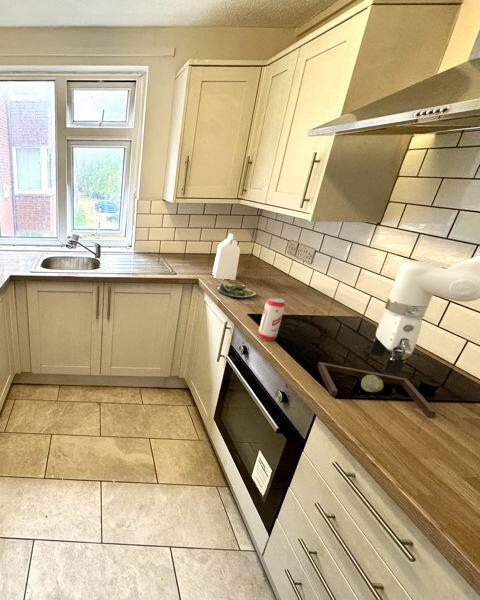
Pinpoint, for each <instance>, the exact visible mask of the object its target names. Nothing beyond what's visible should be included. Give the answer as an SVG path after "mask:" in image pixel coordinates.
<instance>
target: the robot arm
mask: <svg viewBox="0 0 480 600" xmlns="http://www.w3.org/2000/svg"><path fill="white" fill-rule="evenodd" d="M433 296H437V297H440V298H444V299H447V300H451V301H455V302H462V303H463V302H465V303H466V302H467V303H469V302H474V301H478V300H480V254H479V255H478V256H477V255H476V256H474V257H470V258H467V259H466V260H463V261H460V262H457V263H454V264H453V265H450V266H449V267H447V268H445V267H443V266H442V265H440V264H438V263H435V262H431V261H426V260H425V261H424V260H407V261H404V262H402V263H401V265H400V266H399V269H398V272H397V274H396V277H395V280H394V282H393V285H392V288H391V291H390V293H389V296H388V299H387V300H386V304H385V306H384V309H383V310H384V313H383V315H382V316H381V318H380V321H379V323H378V324H377V325H376V331H375V332H374V334H375V337H374V338H373V339H372V340H373V341H372V344H371V346H370V350H369V352H368V353H369V355H371V356H376V357H384V355H385V353H386V351H387V350H388V351H389V358H388V357H387V360H386V362H385V364H384V366H383V369H382V370H383V372H384V373H388V374H393V375H400V373H401V371H402V368H403V366H404V364H405V363H406V362H407V361H408V360H409V358H410V357H411V356H412V355H413V352H414V350H415V347H416V344H417V341H418V339H419V336H420V332H421V328H422V323H423V319H424V317H425V315H426V313H427V311H428V308H429V305H430V303H431V301H432V299H433ZM396 353H399V354H396Z"/></svg>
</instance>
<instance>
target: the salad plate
mask: <svg viewBox="0 0 480 600" xmlns="http://www.w3.org/2000/svg"><path fill="white" fill-rule="evenodd" d="M214 287H215V288H216V291H217V292H218V293H219V294H220V295H222V296H224V297H226V298H230V299H234V300H244V299H248V298H249V299H250V298H251V297H254V296H256V295H257V292H256V291H254V290H251V289H250V288H251V286H246V285H245V284H243V285H242V284H228V285H227V284H226V283H221V284H220V285H215V286H214Z"/></svg>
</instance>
